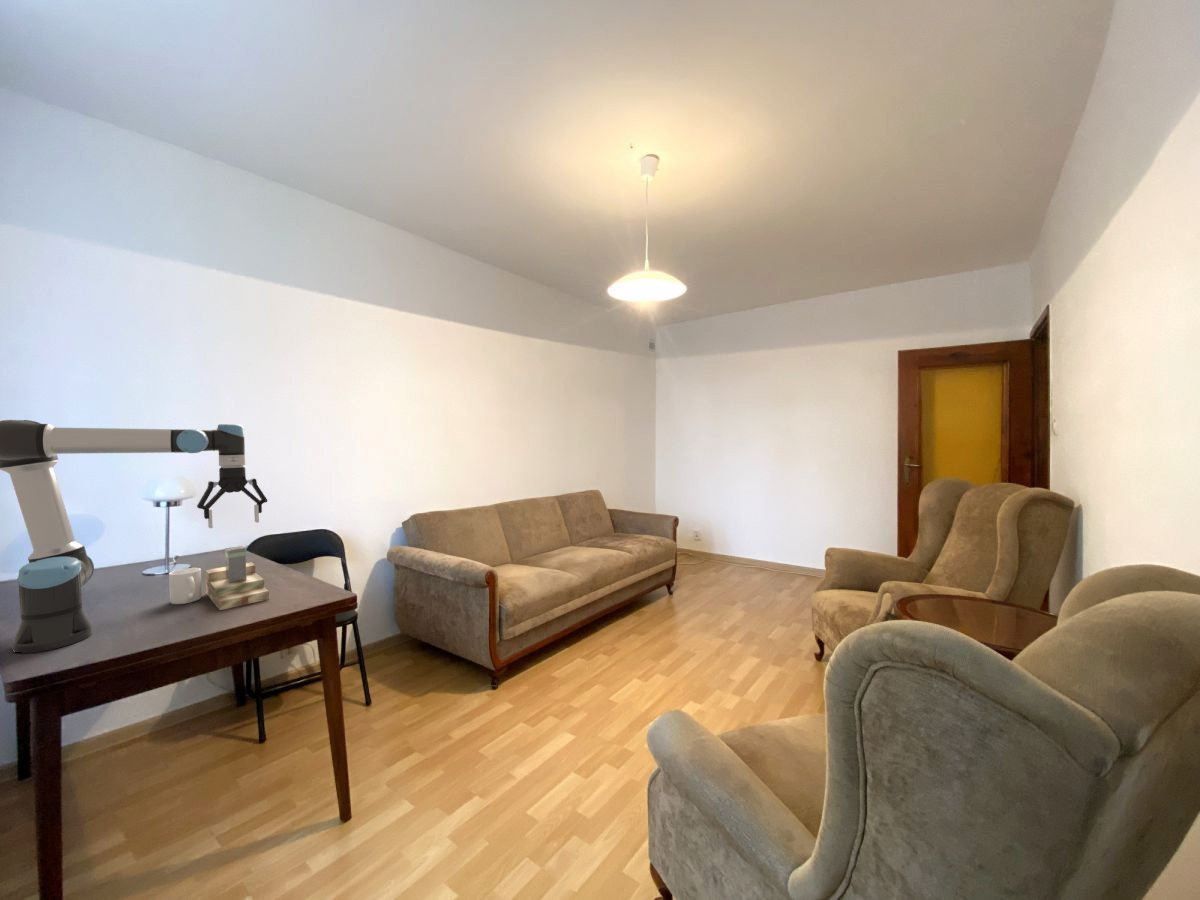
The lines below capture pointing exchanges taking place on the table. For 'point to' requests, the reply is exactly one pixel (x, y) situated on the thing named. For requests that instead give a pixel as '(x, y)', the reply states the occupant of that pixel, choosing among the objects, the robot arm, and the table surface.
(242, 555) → the column
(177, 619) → the table surface
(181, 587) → the mug
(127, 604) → the table surface
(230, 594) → the stepped stand
